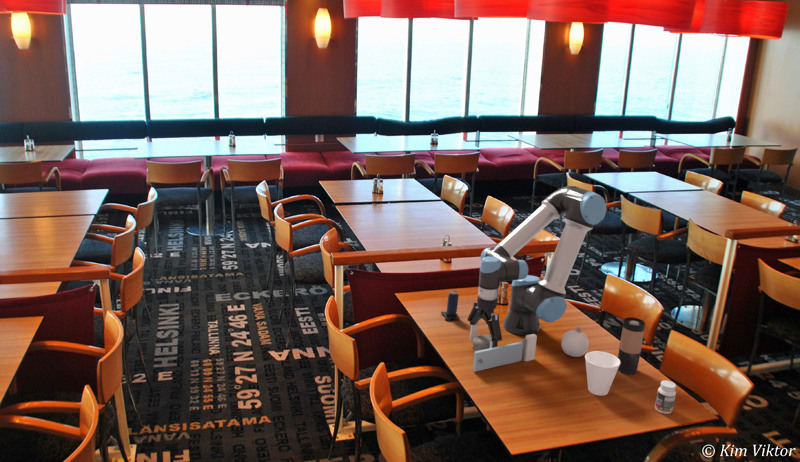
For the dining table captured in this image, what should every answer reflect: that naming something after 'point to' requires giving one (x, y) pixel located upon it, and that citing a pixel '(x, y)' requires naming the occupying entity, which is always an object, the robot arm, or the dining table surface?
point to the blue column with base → (451, 306)
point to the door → (499, 355)
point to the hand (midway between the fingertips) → (482, 347)
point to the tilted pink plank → (530, 347)
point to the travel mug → (630, 345)
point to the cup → (600, 371)
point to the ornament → (575, 343)
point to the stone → (482, 342)
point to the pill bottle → (665, 397)
